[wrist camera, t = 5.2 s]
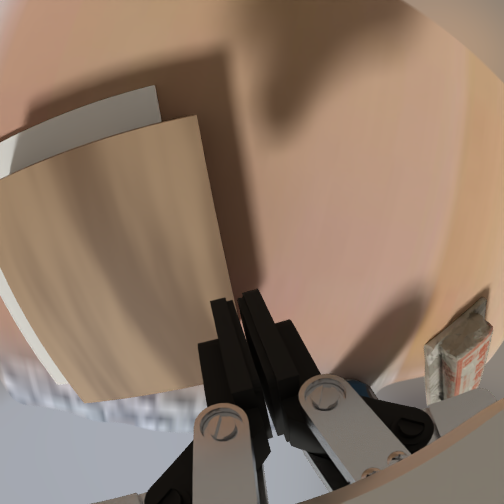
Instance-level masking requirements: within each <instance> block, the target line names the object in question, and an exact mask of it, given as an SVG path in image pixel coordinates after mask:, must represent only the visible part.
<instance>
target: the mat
mask: <svg viewBox="0 0 504 504" xmlns="http://www.w3.org/2000/svg"><path fill="white" fill-rule="evenodd" d="M158 122H162V120H161V115H160V109H159V104H158V99H157V93H156V88H155V85H152V86H148V87H145V88H141V89H137V90H133V91H130V92H126V93H123V94H119V95H116V96H113V97H110V98H107V99H103V100H100V101H97V102H94V103H91V104H89V105H86V106H83V107H80V108H77V109H75V110H72V111H69V112H67V113H64V114H62V115H59V116H57V117H54V118H52V119H49V120H47V121H45V122H42V123H40V124H38V125H35V126H33V127H31V128H29V129H27V130H24V131H22V132H20V133H18V134H16V135H14V136H12V137H10V138H8V139H6V140H4V141H2V142H0V179H1V178H3V177H5V176H7V175H9V174H11V173H13V172H16V171H18V170H20V169H22V168H25V167H27V166H29V165H32V164H34V163H36V162H39V161H41V160H44V159H46V158H49V157H51V156H54V155H56V154H59V153H62V152H64V151H67V150H70V149H72V148H75V147H78V146H81V145H84V144H87V143H90V142H93V141H96V140H99V139H102V138H105V137H108V136H111V135H115V134H118V133H121V132H125V131H128V130H132V129H135V128H139V127H143V126H147V125H150V124H154V123H158ZM0 295H1V297H2V299H3V301H4V303H5V305H6V307H7V308H8V310H9V312H10V314H11V316H12V317H13V319H14V321H15V322H16V324H17V326H18V327H19V329H20V331H21V332H22V334H23V336H24V337H25V339H26V340H27V342H28V343H29V345H30V347H31V348H32V350H33V351H34V353H35V354H36V356H37V357H38V358H39V360H40V361H41V363H42V364H43V366H44V367H45V368H46V370H47V371H48V373H49V374H50V375H51V377H52V378H53V379H54V381H55V382H56V383H57V385H61V384H69V383H68V381H67V380H66V379H65V377H64V376H63V375H62V373H61V372H60V370H59V369H58V367H57V366H56V365H55V363H54V362H53V360H52V359H51V357H50V356H49V354H48V353H47V351H46V350H45V348H44V347H43V345H42V344H41V342H40V340H39V339H38V337H37V336H36V334H35V332H34V331H33V329H32V327H31V326H30V324H29V322H28V320H27V319H26V317H25V315H24V313H23V312H22V310H21V308H20V306H19V304H18V302H17V301H16V299H15V297H14V295H13V293H12V291H11V289H10V287H9V285H8V283H7V281H6V279H5V277H4V275H3V272H2V270H1V268H0Z"/></svg>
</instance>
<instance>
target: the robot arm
mask: <svg viewBox="0 0 504 504" xmlns="http://www.w3.org/2000/svg"><path fill="white" fill-rule="evenodd" d="M242 295H243V297H242V298H238V305H239V309H240V314H241V318H242V323H243V327H244V332H245V336H246V339H245V336H244V333H243V330H242V327H241V324H240V321H239V318H238V315H237V312H236V309H235V306H234V303H233V300H230V301H226V298H225V297H224V298H220V299H216V300H212V301H210V304H211V309H212V314H213V318H214V323H215V327H216V332H217V336H218V339H214V340H210V341H206V342H202V343H198V353H199V360H200V366H201V372H202V378H203V384H204V390H205V396H206V402H207V408H205V409H204V410H203V411H202V412H201V413H200V414H199V415H198V417H197V418H196V420H195V424H194V439H193V441H192V442H191V443H190V444H189V445H188V447H187V448H186V449H185V450H184V451H183V452H182V453H181V455H180V456H179V457H178V458H177V459H176V460H175V461H174V463H173V464H172V465H171V466H170V467H169V468H168V469H167V470H166V471H165V472H164V473H163V475H162V476H161V477H160V478H159V479H158V480H157V481H156V482H155V483H154V484H153V485H152V486H151V488H150V489H149V490H148V492H146V493H143V494H139V495H138V494H137V493H134V494H130V495H126V496H122V497H119V498H114V499H110V500H106V501H102V502H97V503H92V504H268V496H267V489H266V481H265V473H264V466H263V463H264V461H265V460H266V458H267V457H268V455H269V454H270V452H271V450H270V446H269V443H268V439H269V438H272V437H273V436H272V431H271V427H270V422H269V418H268V413H267V409H266V405H267V407H268V410H269V413H270V416H271V419H272V421H273V424H274V427H275V430H276V432H277V435H278V436H279V435H283V434H284V436H285V439H286V441H287V442H290V444H291V446H293V447H296V448H299V449H302V450H303V453H304V455H305V456H306V458H307V459H308V461H309V462H310V464H311V466H312V467H313V469H314V470H315V472H316V473H317V475H318V476H319V478H320V479H321V481H322V482H323V484H324V485H325V487H326V488H327V489H328V491H329V493H327V494H324V495H321V496H318V497H315V498H313V499H309V500H307V501H303V502H300V503H297V504H504V398H503V399H501V400H499V401H497V400H496V398H495V396H494V395H493V394H492V393H491V392H490V391H488V390H487V389H483V388H477V389H473V390H470V391H468V392H465V393H462V394H459V395H457V396H454V397H451V398H448V399H445V400H442V401H439V402H436V403H433V404H430V405H428V406H427V408H425V409H422V410H420V409H418V408H414V407H409V406H404V405H399V404H395V403H391V402H386V401H382V400H377V399H373V398H369V397H365V396H361V395H358V393H357V392H356V391H355V390H354V389H353V388H352V387H351V385H350V384H349V383H348V382H347V381H345V380H344V379H343V378H341V377H339V376H337V375H332V374H320V372H319V370H318V368H317V366H316V364H315V363H314V361H313V359H312V357H311V355H310V354H309V352H308V350H307V348H306V346H305V344H304V343H303V341H302V339H301V337H300V335H299V334H298V332H297V330H296V328H295V326H294V324H293V323H292V321H291V320H290V319H289V320H286V321H282V322H279V323H274V321H273V319H272V317H271V315H270V313H269V311H268V308H267V306H266V304H265V302H264V300H263V298H262V296H261V294H260V292H259V290H258V289H256V290H252V291H248V292H244V293H242ZM246 341H247V342H246ZM265 402H266V404H265Z"/></svg>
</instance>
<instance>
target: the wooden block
mask: <svg viewBox="0 0 504 504" xmlns="http://www.w3.org/2000/svg"><path fill="white" fill-rule="evenodd" d="M0 268H1V270H2V272H3V275H4V277H5V279H6V281H7V283H8V285H9V287H10V289H11V291H12V293H13V295H14V297H15V299H16V301H17V302H18V304H19V306H20V308H21V310H22V312H23V313H24V315H25V317H26V319H27V320H28V322H29V324H30V326H31V327H32V329H33V331H34V332H35V334H36V336H37V337H38V339H39V340H40V342H41V344H42V345H43V347H44V348H45V350H46V351H47V353H48V354H49V356H50V357H51V359H52V360H53V362H54V363H55V365H56V366H57V367H58V369H59V370H60V372H61V373H62V375H63V376H64V377H65V379H66V380H67V381H68V383H69V384H70V385H71V387H72V388H73V389H74V391H75V392H76V393H77V394H78V396H79V397H80V398H81V400H82V401H83V402H84V403H92V402H101V401H109V400H117V399H124V398H131V397H137V396H144V395H150V394H156V393H161V392H167V391H172V390H178V389H183V388H188V387H193V386H197V385H202V384H203V378H202V372H201V366H200V360H199V353H198V343H202V342H206V341H210V340H214V339H218V336H217V332H216V327H215V323H214V318H213V314H212V309H211V304H210V301H212V300H216V299H220V298H224V297H225V298H226V301H230V300H233V303H234V306H235V309H236V305H235V301H234V296H233V292H232V287H231V283H230V278H229V274H228V269H227V264H226V260H225V255H224V250H223V246H222V241H221V236H220V231H219V227H218V222H217V217H216V212H215V207H214V202H213V197H212V192H211V187H210V182H209V177H208V172H207V167H206V162H205V157H204V151H203V146H202V141H201V136H200V130H199V125H198V119H197V115H189V116H184V117H179V118H175V119H171V120H166V121H162V122H158V123H154V124H150V125H147V126H143V127H139V128H135V129H132V130H128V131H125V132H121V133H118V134H115V135H111V136H108V137H105V138H102V139H99V140H96V141H93V142H90V143H87V144H84V145H81V146H78V147H75V148H72V149H70V150H67V151H64V152H62V153H59V154H56V155H54V156H51V157H49V158H46V159H44V160H41V161H39V162H36V163H34V164H32V165H29V166H27V167H25V168H22V169H20V170H18V171H16V172H13V173H11V174H9V175H7V176H5V177H3V178H1V179H0ZM236 312H237V310H236ZM237 315H238V314H237Z"/></svg>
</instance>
